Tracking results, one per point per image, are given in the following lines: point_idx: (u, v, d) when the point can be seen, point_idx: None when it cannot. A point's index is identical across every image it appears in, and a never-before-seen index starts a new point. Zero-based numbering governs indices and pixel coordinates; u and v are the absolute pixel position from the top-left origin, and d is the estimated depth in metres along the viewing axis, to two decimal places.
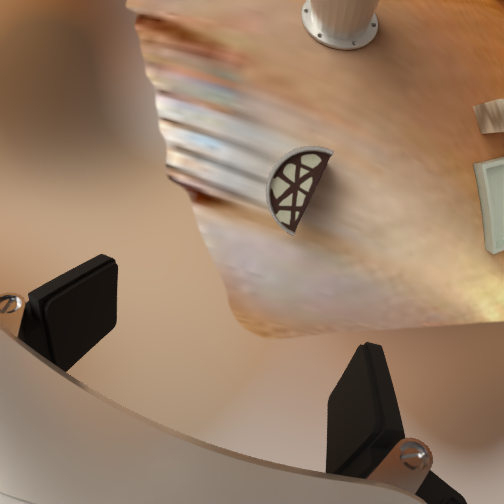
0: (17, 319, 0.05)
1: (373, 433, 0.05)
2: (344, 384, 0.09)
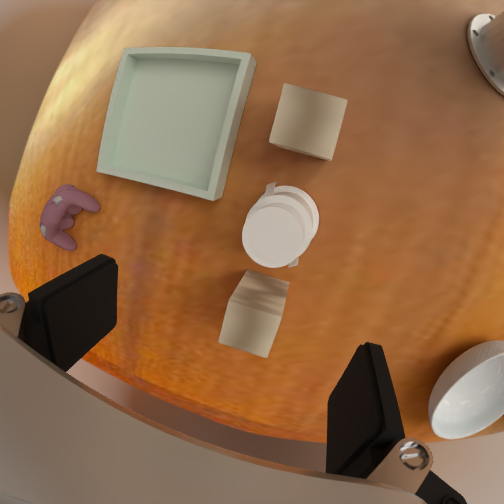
0: (16, 319, 0.05)
1: (373, 433, 0.05)
2: (344, 384, 0.09)
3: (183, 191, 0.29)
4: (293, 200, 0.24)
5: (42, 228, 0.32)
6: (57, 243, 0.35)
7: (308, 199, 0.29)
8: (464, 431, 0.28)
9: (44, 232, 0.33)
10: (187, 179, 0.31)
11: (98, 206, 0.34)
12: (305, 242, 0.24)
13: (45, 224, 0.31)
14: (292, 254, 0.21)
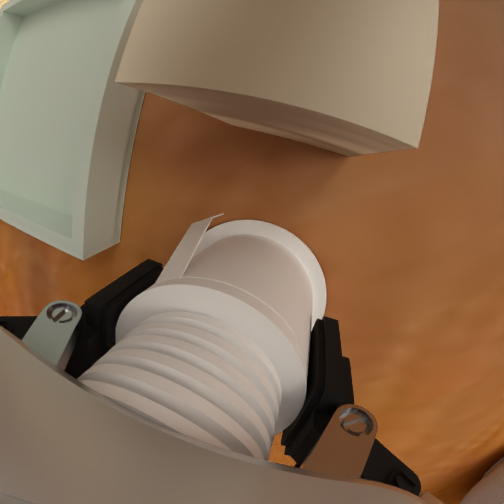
0: (67, 331, 0.06)
1: (315, 396, 0.06)
2: None
3: (39, 237, 0.12)
4: (241, 306, 0.07)
5: None
6: None
7: (303, 254, 0.12)
8: None
9: None
10: (61, 207, 0.14)
11: None
12: (282, 417, 0.07)
13: None
14: None
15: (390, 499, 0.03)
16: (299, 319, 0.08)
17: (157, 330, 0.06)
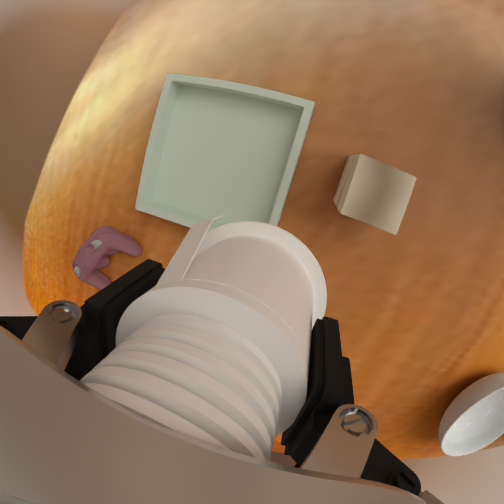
0: (67, 331, 0.06)
1: (315, 396, 0.06)
2: None
3: None
4: (242, 308, 0.07)
5: (76, 269, 0.33)
6: (92, 284, 0.35)
7: (303, 256, 0.12)
8: (467, 449, 0.29)
9: (79, 274, 0.33)
10: None
11: (140, 249, 0.35)
12: (283, 418, 0.07)
13: (81, 267, 0.32)
14: None
15: (390, 499, 0.03)
16: (300, 321, 0.08)
17: (158, 332, 0.06)
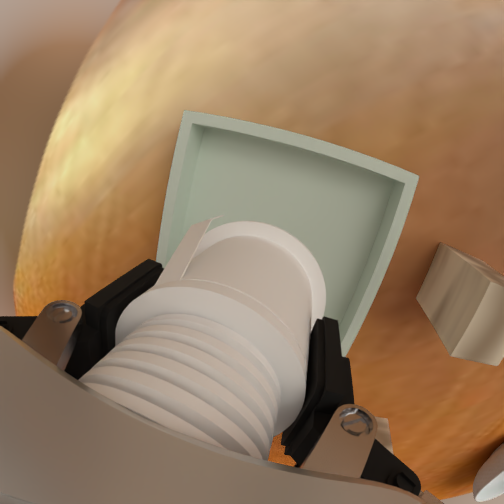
0: (67, 331, 0.06)
1: (315, 396, 0.06)
2: None
3: None
4: (241, 308, 0.07)
5: None
6: None
7: (302, 256, 0.12)
8: (496, 492, 0.20)
9: None
10: None
11: None
12: (281, 418, 0.07)
13: None
14: None
15: (390, 499, 0.03)
16: (298, 321, 0.08)
17: (156, 332, 0.06)
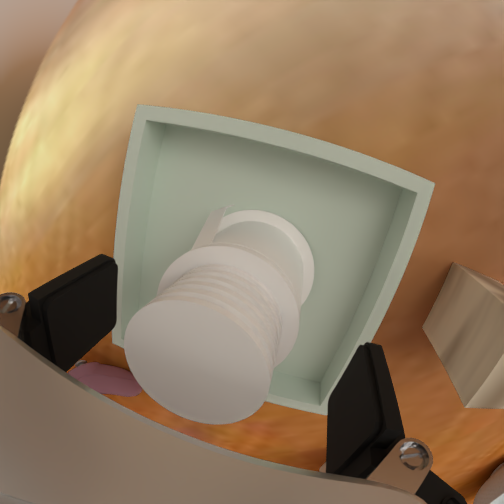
0: (16, 319, 0.05)
1: (373, 433, 0.05)
2: (344, 384, 0.09)
3: (279, 403, 0.17)
4: (254, 258, 0.10)
5: None
6: None
7: (295, 236, 0.16)
8: None
9: None
10: (276, 368, 0.19)
11: None
12: (283, 347, 0.11)
13: None
14: (243, 408, 0.08)
15: (390, 499, 0.03)
16: (292, 274, 0.12)
17: (199, 274, 0.10)
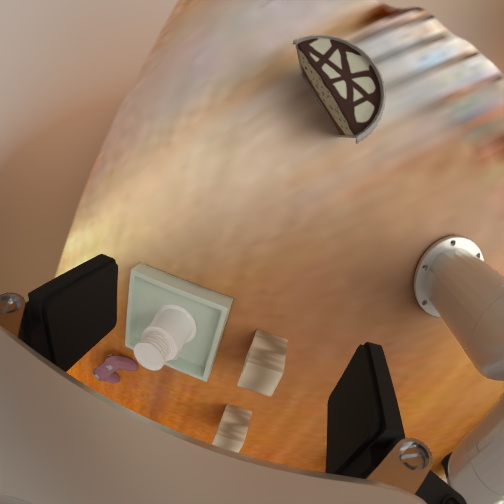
0: (16, 319, 0.05)
1: (373, 433, 0.05)
2: (344, 384, 0.09)
3: (187, 373, 0.45)
4: (164, 331, 0.38)
5: (96, 375, 0.48)
6: (107, 381, 0.50)
7: (188, 315, 0.43)
8: None
9: (98, 378, 0.48)
10: (188, 360, 0.47)
11: (137, 366, 0.50)
12: (174, 353, 0.39)
13: (100, 377, 0.47)
14: (159, 366, 0.35)
15: (390, 499, 0.03)
16: (178, 333, 0.39)
17: (151, 334, 0.37)
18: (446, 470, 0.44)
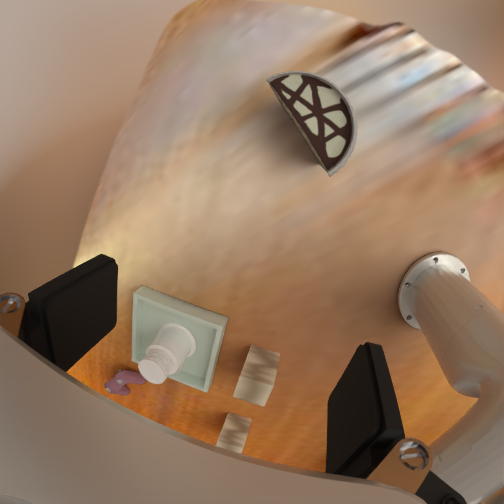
0: (16, 319, 0.05)
1: (373, 433, 0.05)
2: (344, 384, 0.09)
3: (189, 385, 0.48)
4: (165, 348, 0.41)
5: (107, 389, 0.52)
6: (118, 393, 0.54)
7: (188, 332, 0.47)
8: None
9: (109, 391, 0.52)
10: (190, 372, 0.50)
11: (145, 379, 0.54)
12: (175, 368, 0.42)
13: (111, 390, 0.51)
14: (161, 380, 0.39)
15: (390, 499, 0.03)
16: (178, 350, 0.43)
17: (153, 351, 0.40)
18: None
